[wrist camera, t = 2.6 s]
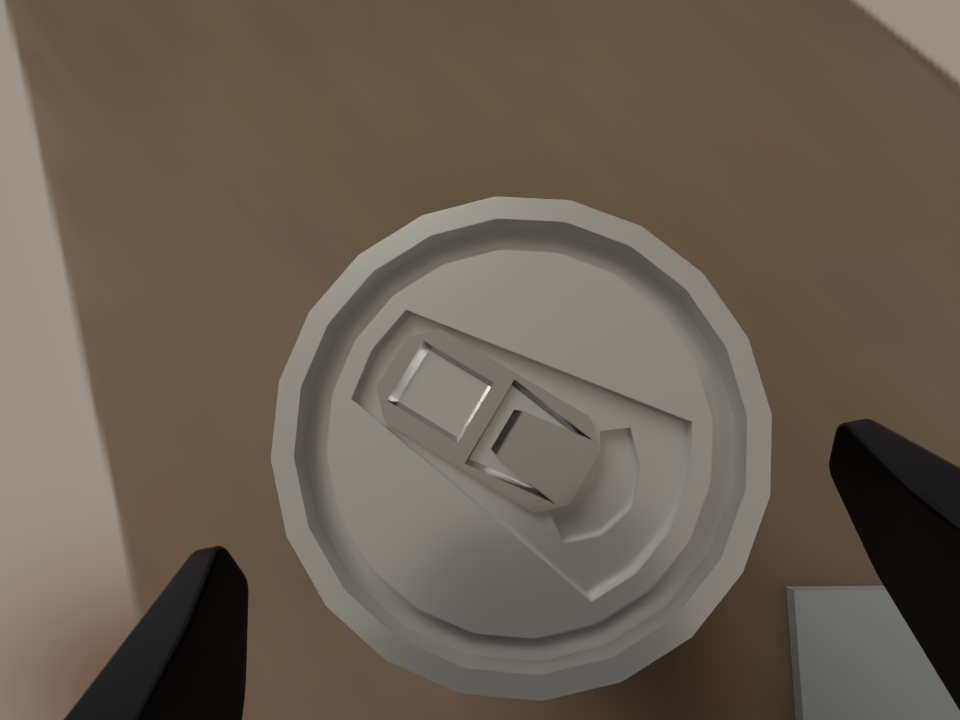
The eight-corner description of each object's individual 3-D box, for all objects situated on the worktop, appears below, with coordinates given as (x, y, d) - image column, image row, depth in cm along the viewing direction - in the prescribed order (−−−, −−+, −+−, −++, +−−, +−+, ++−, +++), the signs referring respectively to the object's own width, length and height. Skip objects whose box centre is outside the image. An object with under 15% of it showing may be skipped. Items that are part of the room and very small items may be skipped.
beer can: (383, 472, 19) (145, 530, 7) (482, 307, 19) (427, 84, 7) (551, 577, 18) (621, 847, 6) (650, 405, 18) (899, 341, 6)
